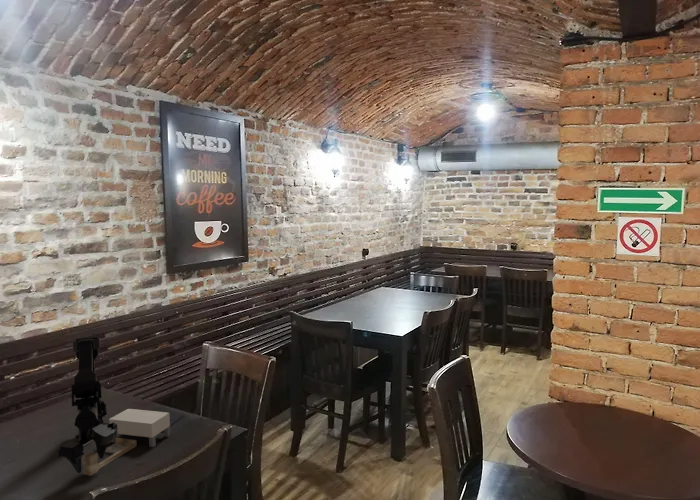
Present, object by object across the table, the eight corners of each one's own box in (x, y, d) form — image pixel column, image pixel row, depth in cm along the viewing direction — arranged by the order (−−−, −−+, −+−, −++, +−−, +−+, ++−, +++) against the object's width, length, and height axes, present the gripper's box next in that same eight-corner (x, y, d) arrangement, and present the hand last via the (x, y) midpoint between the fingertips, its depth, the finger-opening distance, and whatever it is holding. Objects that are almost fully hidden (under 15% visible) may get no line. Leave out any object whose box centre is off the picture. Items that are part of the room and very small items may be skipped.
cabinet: (110, 442, 183) (109, 419, 182) (129, 430, 192) (128, 408, 192) (153, 447, 178) (151, 423, 177) (170, 435, 187) (169, 412, 187)
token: (103, 453, 175) (102, 450, 175) (116, 445, 181) (116, 442, 181) (117, 455, 173) (116, 452, 173) (129, 447, 179) (129, 444, 179)
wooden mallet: (67, 471, 162) (66, 453, 162) (117, 442, 182) (116, 426, 181) (90, 475, 159) (89, 457, 159) (138, 446, 179) (137, 429, 178)
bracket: (150, 416, 207) (149, 409, 207) (183, 418, 204) (183, 411, 204) (128, 431, 193) (128, 424, 193) (164, 433, 190) (163, 426, 190)
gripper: (85, 432, 148) (88, 483, 149) (129, 408, 166) (132, 454, 167) (55, 429, 151) (58, 479, 152) (101, 405, 169) (104, 450, 170)
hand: (90, 465), depth 161 cm, fingers open, 9 cm apart
